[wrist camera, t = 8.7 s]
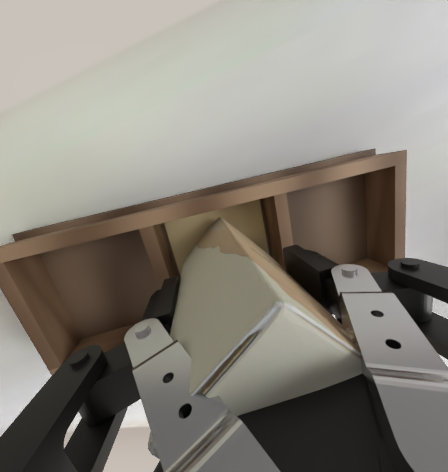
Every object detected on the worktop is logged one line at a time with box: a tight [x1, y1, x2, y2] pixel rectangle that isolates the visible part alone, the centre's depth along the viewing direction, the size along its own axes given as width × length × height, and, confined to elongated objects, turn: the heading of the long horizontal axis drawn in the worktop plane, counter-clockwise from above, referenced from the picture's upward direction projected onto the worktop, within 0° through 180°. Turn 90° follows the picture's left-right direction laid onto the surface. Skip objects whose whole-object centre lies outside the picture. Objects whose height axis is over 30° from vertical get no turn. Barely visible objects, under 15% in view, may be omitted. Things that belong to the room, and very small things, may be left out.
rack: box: [0, 149, 407, 375], centre depth 15 cm, size 26×10×4 cm, turn 103°
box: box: [148, 217, 363, 459], centre depth 10 cm, size 5×4×11 cm
